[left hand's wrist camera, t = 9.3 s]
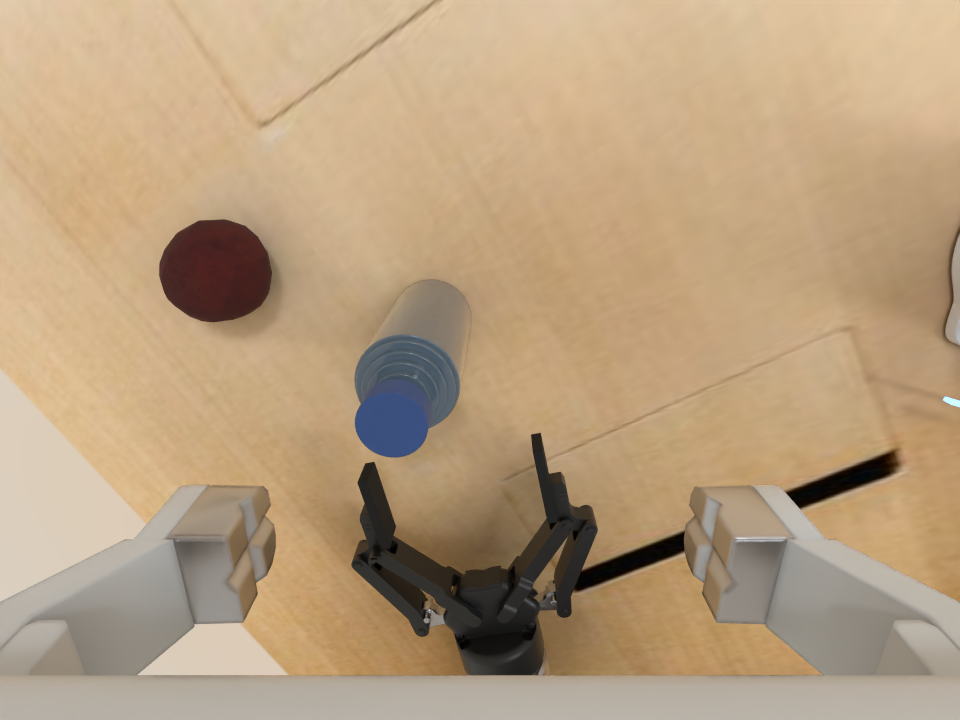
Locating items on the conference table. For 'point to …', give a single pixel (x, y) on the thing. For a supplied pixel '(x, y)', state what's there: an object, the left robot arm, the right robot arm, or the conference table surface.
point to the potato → (215, 271)
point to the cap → (393, 418)
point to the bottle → (421, 345)
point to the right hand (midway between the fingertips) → (449, 456)
